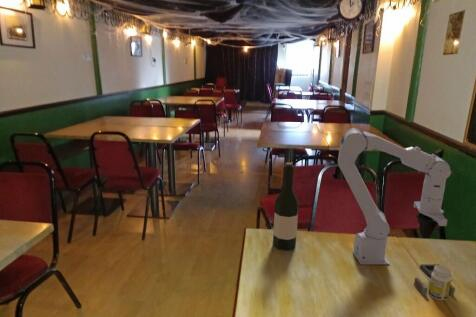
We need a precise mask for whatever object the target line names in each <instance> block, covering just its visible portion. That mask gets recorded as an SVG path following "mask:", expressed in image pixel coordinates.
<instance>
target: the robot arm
mask: <svg viewBox="0 0 476 317" xmlns="http://www.w3.org/2000/svg"><path fill="white" fill-rule="evenodd" d="M339 143H340V144H339V150H338V156H337V157H338V158H337V165H338V167H339V169H340V171H341V172H342V174H343V177H344V179H345V180H346V183H347V185H348V186H349V188H350V190H351V193H352V195H353V196H354V198H355V200H356V201H357V204H358V205H359V207H360V210H361V212H362V213H363V216H364V218H365V223H366V224H367V225H366V227H365V228H364V230H363V231H362V232H358V233H356V234H355V236H354V243H353V250H352V253H353V255H354V257H355V258H356V260H357V261H358V263H359V264H360V265H390V262H389V261H388V259H387V258H386V257H385V256H386V250H387V243H388V236H389V234H390V231H391V227H390V225H389V223H388V222H387V221H388V220H387V219H386V215H385V214H384V212H383V211H381V210H380V209H379V208H378V206H377V204H376V203H375V201H374V199H373V197H372V195H371V193H370V191H369V190H368V187H367V185H366V184H365V182H364V179H363V178H362V175H361V173H360V172H359V169H358V168H357V166H356V160H357V158H358V156H359V155H360V154H361V153H362V152H363V151H364V150H365V149H366V151H372V150H379V151H380V152H384V153H387V154H389V155H391V156H394V157H396V158H399V159H400V162H401V164H402V165H405V166H407V167H409V168H411V169H415V170H416V171H418V172H421V173H425V174H424V178H423V179H424V180H423V183H422V184H423V185H422V191H421V197H420V201H414V202H413V208H415V209H417V210H418V212H419V213H416V214H415V216H416V218H417V222H418V224H419V231H420V237H422V239H430V237H431V236H432V234H433V232H434V230H435V229H436V228H437V226H439V227H447V225H448V219H447V218H446V217H445V216H444V213H445V211H444V210H443V209H442V205H443V200H444V195H445V188H446V181H447V179H448V178H449V177H450V176H451V174H452V170H451V167H450V165H449V163H448V162H447V161H446V160H444V159H442V158H441V157H440V156H438V155H436V154H434V153H432V154H430V153H428V152H425V151H423V150H422V149H421V148H420V147H419V146H415V147H414V146H409V147H405V148H404V147H402V146H400V145H398V144H396V143H394V142H391V141H389V140H387V139H385V138H382V137H381V136H379V135H376V134H374V133H370V132H368V131H364V130H363V131H361V130H360V129H359V128H356V127H352V128H349V129H347V130H346V131H345V132H344V134H343V135H342V137H341V139H340V142H339Z"/></svg>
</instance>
